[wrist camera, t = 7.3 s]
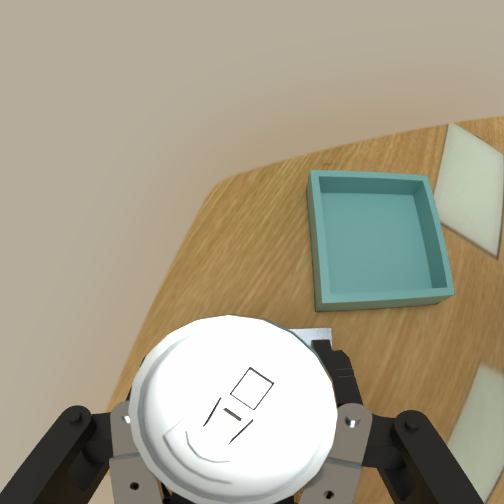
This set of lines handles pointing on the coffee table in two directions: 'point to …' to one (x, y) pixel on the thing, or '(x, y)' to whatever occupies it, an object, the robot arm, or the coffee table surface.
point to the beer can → (233, 411)
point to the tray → (375, 241)
